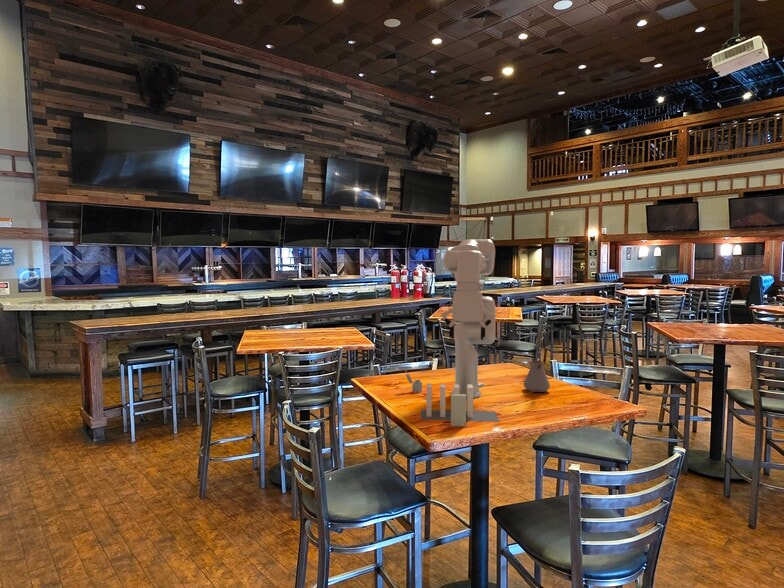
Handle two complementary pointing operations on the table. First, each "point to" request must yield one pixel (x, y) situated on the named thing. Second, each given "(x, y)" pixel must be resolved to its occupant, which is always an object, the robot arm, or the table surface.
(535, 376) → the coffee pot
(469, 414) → the domino
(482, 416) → the mat
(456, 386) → the domino
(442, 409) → the domino
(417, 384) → the lighter
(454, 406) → the domino
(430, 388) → the domino
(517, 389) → the table surface
